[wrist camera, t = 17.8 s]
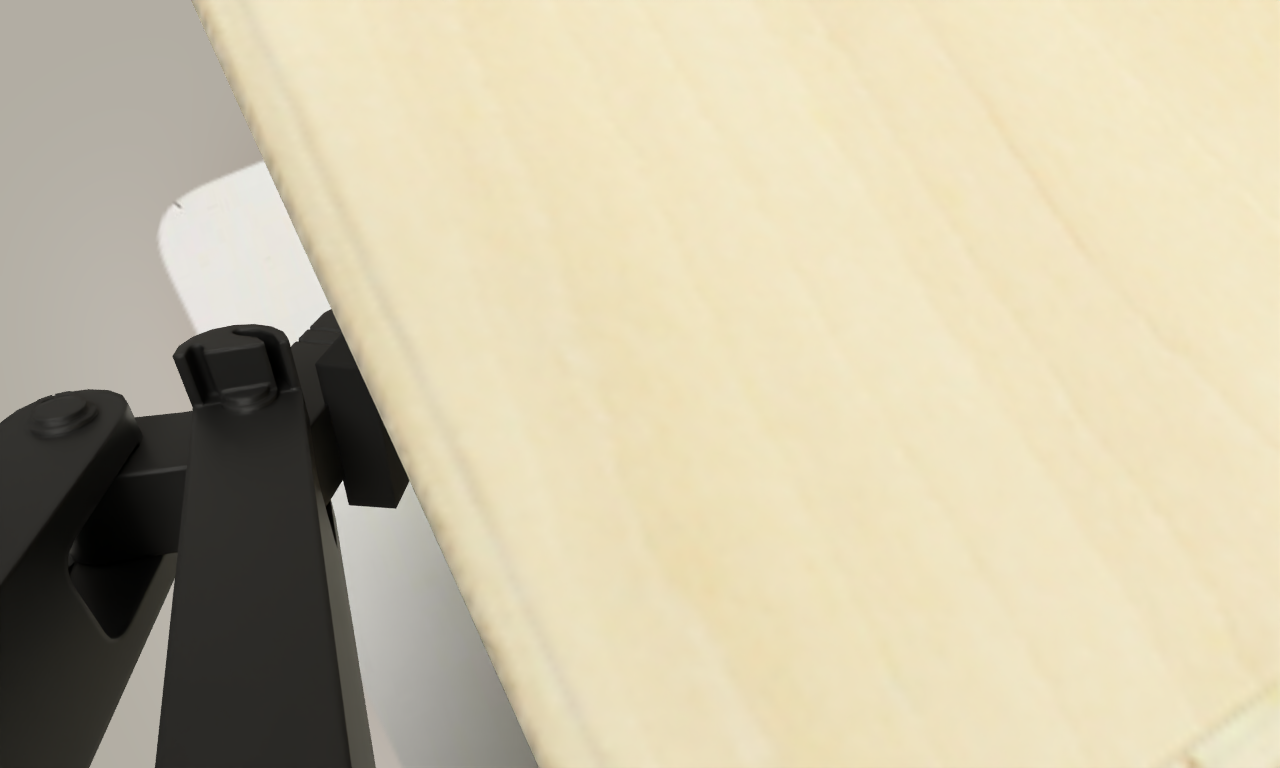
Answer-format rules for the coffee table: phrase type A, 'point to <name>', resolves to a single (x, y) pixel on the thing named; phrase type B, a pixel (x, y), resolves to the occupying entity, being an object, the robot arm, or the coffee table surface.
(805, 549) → the cream tall block
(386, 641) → the coffee table surface
